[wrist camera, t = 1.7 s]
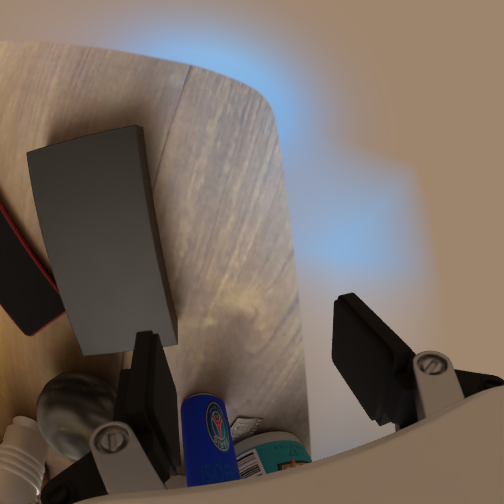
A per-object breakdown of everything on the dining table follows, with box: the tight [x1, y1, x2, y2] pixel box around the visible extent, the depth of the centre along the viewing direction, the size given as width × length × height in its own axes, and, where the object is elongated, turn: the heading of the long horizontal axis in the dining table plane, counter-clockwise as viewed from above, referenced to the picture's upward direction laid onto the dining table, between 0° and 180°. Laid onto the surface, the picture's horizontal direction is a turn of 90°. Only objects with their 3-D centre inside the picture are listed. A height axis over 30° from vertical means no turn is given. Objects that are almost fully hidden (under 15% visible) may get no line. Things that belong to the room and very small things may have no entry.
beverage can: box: [181, 393, 241, 487], centre depth 27 cm, size 5×5×15 cm
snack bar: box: [230, 418, 263, 445], centre depth 37 cm, size 13×5×1 cm, turn 137°
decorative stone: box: [36, 371, 117, 462], centre depth 26 cm, size 10×10×10 cm
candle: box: [0, 416, 49, 504], centre depth 24 cm, size 7×7×15 cm
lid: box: [27, 125, 178, 356], centre depth 24 cm, size 18×9×4 cm, turn 5°
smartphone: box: [0, 202, 66, 336], centre depth 24 cm, size 7×1×15 cm
